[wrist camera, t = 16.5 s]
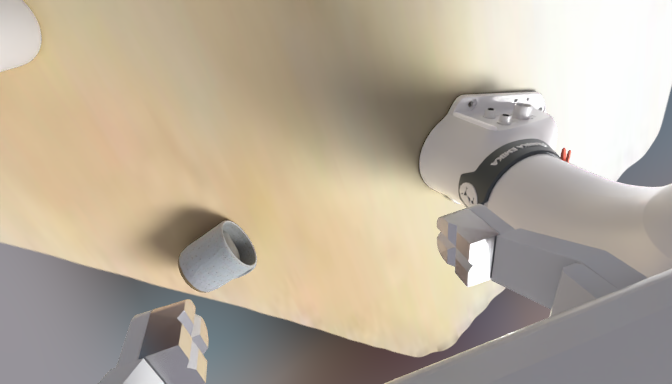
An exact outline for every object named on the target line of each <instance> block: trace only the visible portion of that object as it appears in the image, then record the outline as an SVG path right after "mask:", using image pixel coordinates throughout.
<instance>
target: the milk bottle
mask: <svg viewBox="0 0 672 384" xmlns="http://www.w3.org/2000/svg"><path fill="white" fill-rule="evenodd" d="M41 41H42V38H41V30H40V27H39V23H38V21H37V19H36V17H35V15H34V14H33V12H32V11H31V9H30V8H29V7H28V5H27V4H26V3H25V2H24V1H23V0H0V72H2V71H5V70H9V69H13V68H16V67H19V66H22V65H24V64H27V63H28V62H30V61H31V60H33V59H34V58H35V57H36V55H37V54H38V52H39V50H40V47H41Z"/></svg>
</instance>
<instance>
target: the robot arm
mask: <svg viewBox="0 0 672 384" xmlns="http://www.w3.org/2000/svg"><path fill="white" fill-rule="evenodd" d="M469 102H470V105H469V106H468V104H469ZM556 143H557V125H556V122H555V120H554V118H553V117H552V116H551V115H549V114H547V113H546V105H545V101H544V98H543V96H542V94H540V93H538V92H513V93H490V94H468V95H460V96H459V97H457V98H456V100H455V101H454V102H453V104H452V106H451V108H450V110H449V112H448V114H447V115H446V116H445V117H444V118H443V119H442V120H441V121H440V122H439V123H438V124H437V125H436V126H435V127H434V129H433V130H432V131H431V133H430V134H429V135H428V137H427V139H426V141H425V143H424V145H423V147H422V150H421V154H420V161H419V167H420V173H421V176H422V179H423V180H424V182H425V183H426V184H427V185H428V186H429V187H430V188H431V189H433V190H435V191H438V192H440V193H442V194H444V195H446V196H448V197H449V198H450V199H451V200H452V201H453V202H455V203H457V204H461V205H463V206H465V207H466V208H465V209H462V210H459V211H456V212H453V213H450V214H447V215H444V216H441V217H439V218H438V220H437V228H438V229H439V230H440V231H441V232H440V234H439V235H438V237H437V246H438V249H439V252H440V254H441V256H442V258H443V259H444V260H445V261H446V263H447V264H450V265H452V266H455V273H456V274H457V276H458V277H459V278H460V279H461V280H462V281H463V282H464V284H465V285H466V286H467V287H469V286H472V285H475V284H478V283H481V282H484V281H487V280H490V279H491V280H492V281H494V282H496V283H498V284H500V285H502V286H504V287H506V288H508V289H510V290H512V291H514V292H516V293H518V294H520V295H523V296H524V297H526V298H529V299H531V300H533V301H535V302H537V303H539V304H541V305H543V306H545V307H547V308H549V309H551V313H550V317H549V318H547V319H544V320H542V321H539V322H537V323H534V324H532V325H529V326H527V327H524V328H522V329H519V330H517V331H514V332H512V333H509V334H507V335H504V336H502V337H499V338H497V339H494V340H492V341H489V342H487V343H484V344H482V345H479V346H477V347H474V348H472V349H469V350H467V351H464V352H462V353H459V354H457V355H454V356H452V357H449V358H447V359H444V360H442V361H439V362H437V363H434V364H432V365H429V366H427V367H424V368H422V369H420V370H417V371H414V372H412V373H409V374H407V375H404V376H402V377H400V378H397V379H394V380H392V381H389V382H387V383H384V384H672V183H671V184H669V185H667V186H663V187H643V186H634V185H628V184H623V183H619V182H616V181H612V180H609V179H606V178H603V177H601V176H598V175H596V174H594V173H591V172H589V171H587V170H584V169H582V168H579V167H577V166H575V165H572V164H570V163H569V159H570V154H571V150H569V151H568V154H567V157H566V149H565V148H563V149H562V152H561V157H559V156H558V155H557V153H556V152H555V149H556ZM207 348H208V332H207V328H206V325H205V322H204V320H203V319H202V317H201V316H198V315H195V305H194V304H193V302H192V301H191V300H189V299H187V300H184V301H180V302H177V303H174V304H170V305H167V306H163V307H160V308H157V309H154V310H152V311H148V312H145V313H141V314H138V315H135V316H134V318H133V319H132V320H131V323H130V326H129V329H128V332H127V336H126V338H125V342H124V345H123V348H122V351H121V354H120V357H119V361H118V363H117V367H116V368H113V369H111V370H110V371H109V372H108V373H107V374H106V375H105V376H104V377H103V379H102V380H101V381H100V382H99V383H98V384H204V383H206V370H207V361H206V359H205V357H204V356H203V354H204V353H205V351H206V350H207Z"/></svg>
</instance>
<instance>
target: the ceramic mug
mask: <svg viewBox="0 0 672 384" xmlns="http://www.w3.org/2000/svg"><path fill="white" fill-rule="evenodd" d="M256 262H257V257H256V252H255V249H254V247H253V245H252V242H251V241H250V239H249V237H248V236H247V235H246V233H245V232H244V231H243V230H242V229H241V228H240V227H239V226H238V225H237V224H235V223H234V222H232V221H229V220H226V221H223V222H221V223H220V224H218V225H217V226H216V227H214V228H213V229H211V230H210V231H208V232H207V233H206V234H204V235H203V236H201V237H200V238H199V239H197V240H196V241H194V242H192V243H191V244H190V245H188V246H187V247H186V248H185V249H184V250H183V251H182V252H181V254H180V255H179V259H178V267H179V271H180V273H181V276H182V277H183V279H184V280H185V282H186V283H187V284H188V285H189V286H190V287H191V288H193V289H194V290H196V291H199V292H205V293H206V292H210V291H212V290H215V289H217V288H219V287H221V286H223V285H224V284H226V283H227V282H229V281H231V280H232V279H235V278H239V277H241V276H244V275H246V274H247V273H249V272H251V271H252V270H253V269H254V268H255V266H256Z"/></svg>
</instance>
